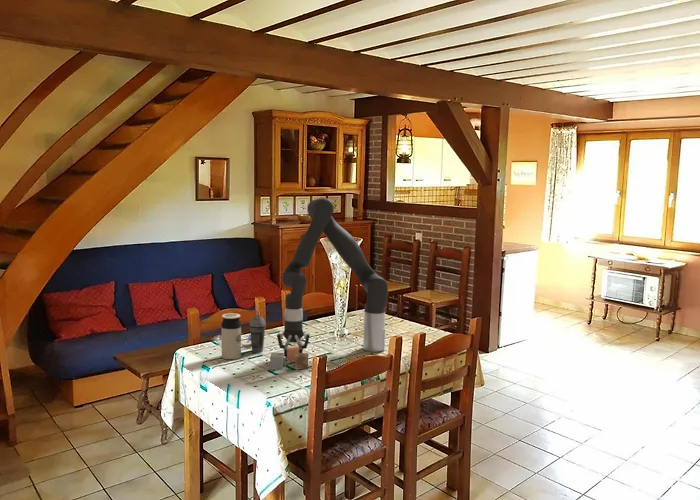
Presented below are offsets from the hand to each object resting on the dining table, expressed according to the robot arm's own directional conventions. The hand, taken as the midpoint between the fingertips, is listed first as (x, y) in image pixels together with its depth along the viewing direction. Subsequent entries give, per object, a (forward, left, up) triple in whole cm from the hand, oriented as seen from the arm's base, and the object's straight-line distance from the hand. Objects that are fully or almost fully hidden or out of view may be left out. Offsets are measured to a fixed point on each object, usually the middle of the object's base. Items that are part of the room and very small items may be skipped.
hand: (293, 357), depth 241 cm
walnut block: (-4, +9, -1) cm, 10 cm away
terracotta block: (0, 0, -1) cm, 1 cm away
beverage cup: (+16, -10, -1) cm, 19 cm away
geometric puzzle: (+18, -19, -1) cm, 26 cm away
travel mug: (+26, -2, -1) cm, 26 cm away
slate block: (+6, +9, -1) cm, 11 cm away
